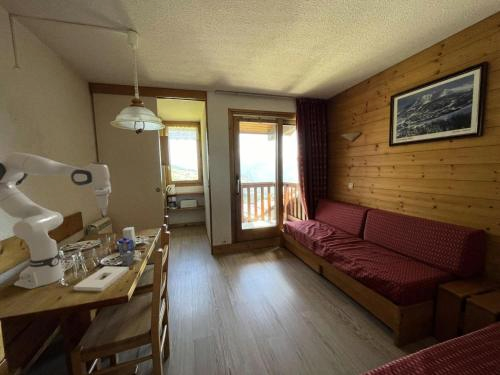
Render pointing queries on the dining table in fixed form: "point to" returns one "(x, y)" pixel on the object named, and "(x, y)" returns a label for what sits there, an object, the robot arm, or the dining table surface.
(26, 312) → the dining table surface
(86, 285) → the pocket plate
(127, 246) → the ink cartridge box
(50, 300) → the dining table surface
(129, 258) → the servo block
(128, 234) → the skincare box
